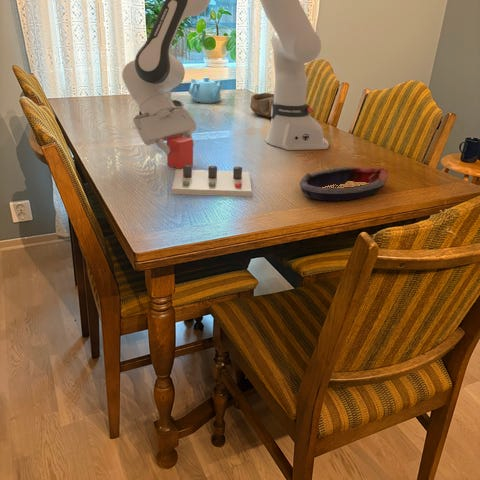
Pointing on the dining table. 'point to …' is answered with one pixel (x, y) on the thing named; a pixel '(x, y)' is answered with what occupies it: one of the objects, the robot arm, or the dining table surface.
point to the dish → (317, 180)
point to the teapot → (205, 90)
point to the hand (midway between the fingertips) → (180, 149)
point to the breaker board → (212, 182)
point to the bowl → (262, 104)
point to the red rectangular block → (180, 151)
